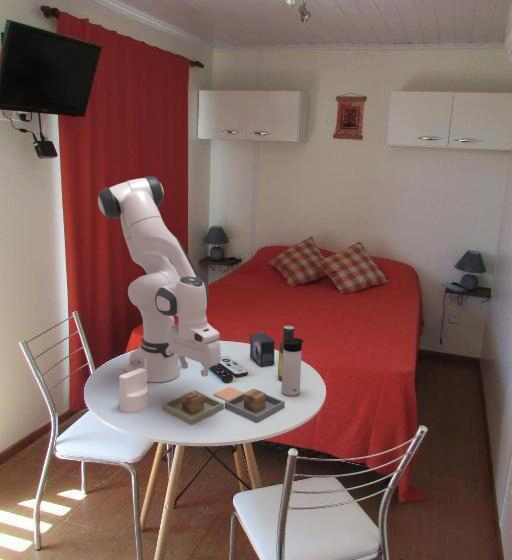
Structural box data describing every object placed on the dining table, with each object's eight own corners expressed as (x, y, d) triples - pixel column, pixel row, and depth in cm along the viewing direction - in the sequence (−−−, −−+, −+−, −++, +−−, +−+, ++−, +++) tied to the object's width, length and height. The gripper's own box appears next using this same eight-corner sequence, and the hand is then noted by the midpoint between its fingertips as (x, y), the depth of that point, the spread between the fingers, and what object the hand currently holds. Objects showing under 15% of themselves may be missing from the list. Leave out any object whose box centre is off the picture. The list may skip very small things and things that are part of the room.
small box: (248, 358, 212) (249, 333, 209) (263, 355, 215) (263, 331, 212) (259, 367, 203) (260, 342, 200) (274, 365, 205) (275, 340, 203)
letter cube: (182, 409, 167) (182, 394, 166) (193, 404, 171) (193, 389, 170) (192, 414, 164) (192, 399, 163) (204, 409, 168) (204, 394, 166)
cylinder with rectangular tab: (136, 398, 175) (135, 365, 172) (154, 407, 169) (153, 372, 167) (114, 407, 168) (112, 373, 165) (131, 417, 163) (130, 381, 160)
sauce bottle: (288, 383, 189) (290, 331, 184) (274, 379, 193) (276, 327, 188) (298, 377, 194) (300, 327, 189) (284, 373, 198) (286, 323, 193)
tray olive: (162, 411, 167) (162, 404, 166) (194, 396, 177) (194, 390, 176) (191, 426, 158) (191, 418, 158) (223, 410, 168) (223, 403, 168)
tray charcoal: (224, 409, 169) (224, 402, 168) (252, 395, 179) (252, 388, 179) (256, 424, 160) (257, 416, 160) (284, 408, 171) (284, 401, 170)
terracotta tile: (213, 396, 178) (213, 393, 177) (229, 389, 184) (229, 386, 183) (230, 404, 173) (230, 401, 172) (246, 396, 179) (246, 393, 178)
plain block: (243, 407, 169) (244, 393, 168) (253, 402, 173) (254, 388, 172) (255, 412, 166) (255, 398, 165) (265, 407, 170) (265, 393, 169)
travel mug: (299, 399, 178) (302, 343, 173) (280, 396, 179) (282, 341, 174) (301, 391, 183) (304, 337, 179) (282, 389, 185) (285, 335, 180)
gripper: (163, 325, 165) (165, 366, 168) (208, 339, 152) (209, 383, 155) (178, 320, 170) (180, 360, 173) (223, 334, 157) (224, 377, 160)
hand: (194, 371), depth 164 cm, fingers open, 8 cm apart
